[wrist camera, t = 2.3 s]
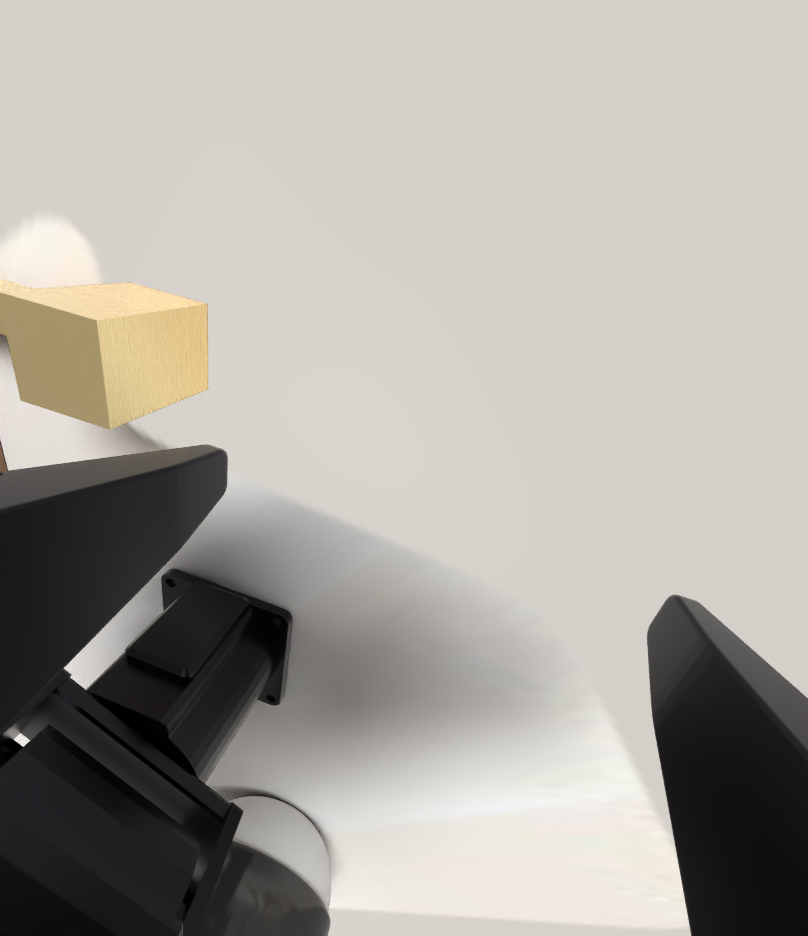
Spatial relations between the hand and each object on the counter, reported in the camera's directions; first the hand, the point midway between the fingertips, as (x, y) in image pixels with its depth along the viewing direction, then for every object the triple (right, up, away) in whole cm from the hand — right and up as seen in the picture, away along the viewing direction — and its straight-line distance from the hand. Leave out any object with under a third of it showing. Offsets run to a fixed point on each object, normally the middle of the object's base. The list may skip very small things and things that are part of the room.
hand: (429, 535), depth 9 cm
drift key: (-13, +7, +7) cm, 16 cm away
